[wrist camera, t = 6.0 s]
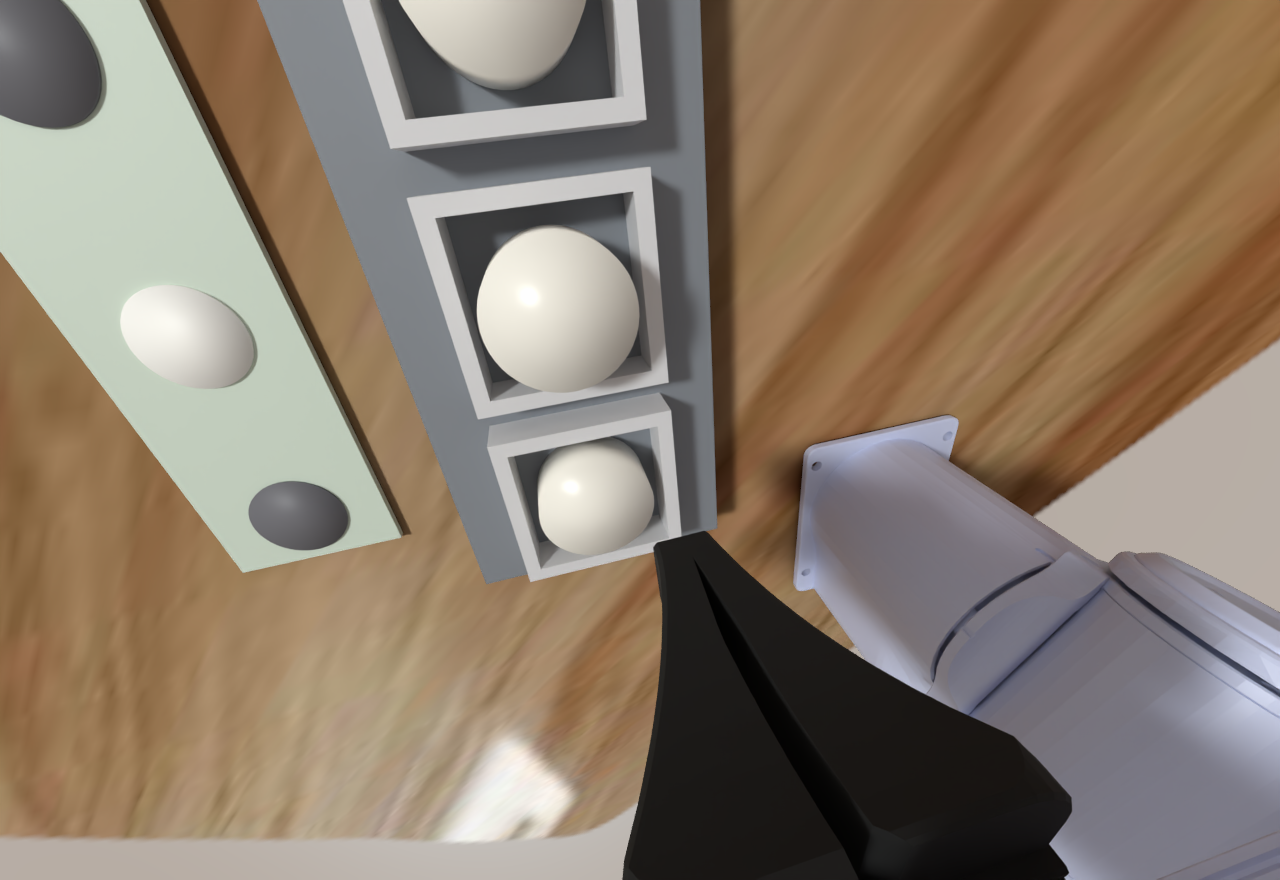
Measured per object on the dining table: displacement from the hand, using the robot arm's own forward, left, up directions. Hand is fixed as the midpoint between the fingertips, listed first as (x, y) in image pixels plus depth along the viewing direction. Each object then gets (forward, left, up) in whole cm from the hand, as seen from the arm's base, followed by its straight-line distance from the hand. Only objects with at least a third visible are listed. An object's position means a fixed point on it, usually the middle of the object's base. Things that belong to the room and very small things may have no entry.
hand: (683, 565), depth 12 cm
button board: (+6, +2, -9) cm, 10 cm away
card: (+6, +13, -9) cm, 16 cm away
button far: (-1, +2, -6) cm, 7 cm away
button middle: (+6, +2, -5) cm, 8 cm away
